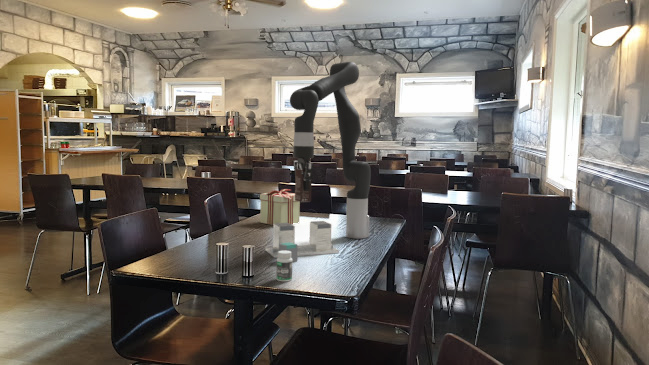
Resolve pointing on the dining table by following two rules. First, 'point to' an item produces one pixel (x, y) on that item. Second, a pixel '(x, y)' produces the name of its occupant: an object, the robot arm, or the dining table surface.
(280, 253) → the pill bottle
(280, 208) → the gift box
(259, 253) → the dining table surface
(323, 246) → the rail panel
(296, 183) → the box
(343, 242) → the dining table surface
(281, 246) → the block
